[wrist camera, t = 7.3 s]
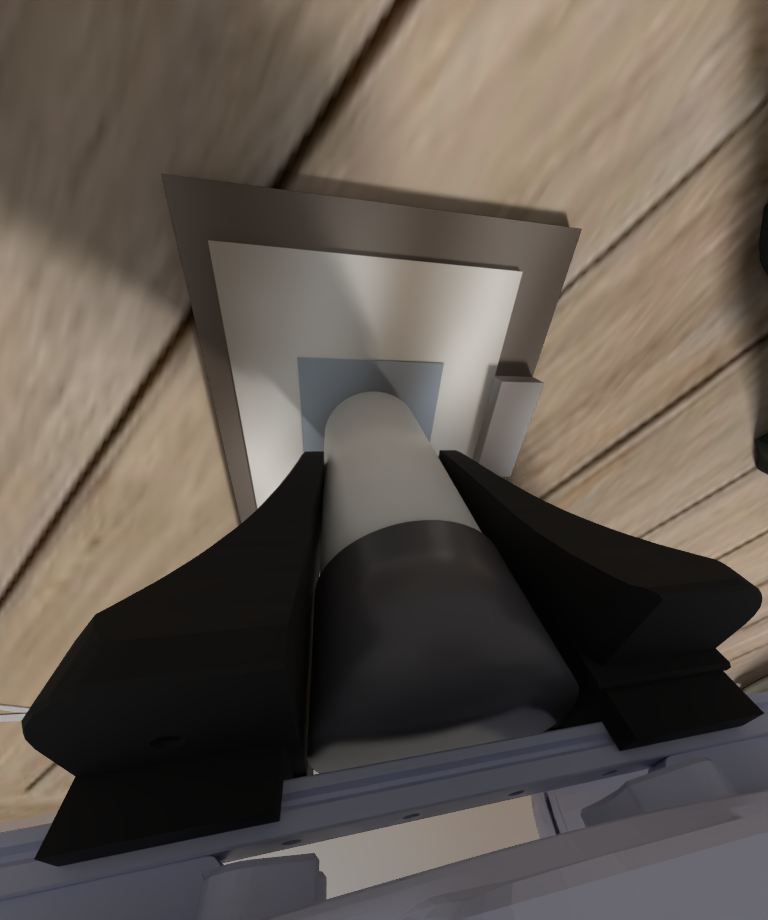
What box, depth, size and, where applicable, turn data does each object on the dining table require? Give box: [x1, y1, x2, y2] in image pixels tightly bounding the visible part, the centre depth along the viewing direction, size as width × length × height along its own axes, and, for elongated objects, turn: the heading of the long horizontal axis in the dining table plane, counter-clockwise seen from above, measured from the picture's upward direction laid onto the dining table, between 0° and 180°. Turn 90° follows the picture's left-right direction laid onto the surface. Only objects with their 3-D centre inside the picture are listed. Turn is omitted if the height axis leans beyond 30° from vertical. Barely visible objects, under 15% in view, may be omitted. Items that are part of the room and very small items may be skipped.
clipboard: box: [161, 174, 582, 523], centre depth 14 cm, size 14×16×2 cm
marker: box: [307, 391, 579, 774], centre depth 9 cm, size 4×4×10 cm
